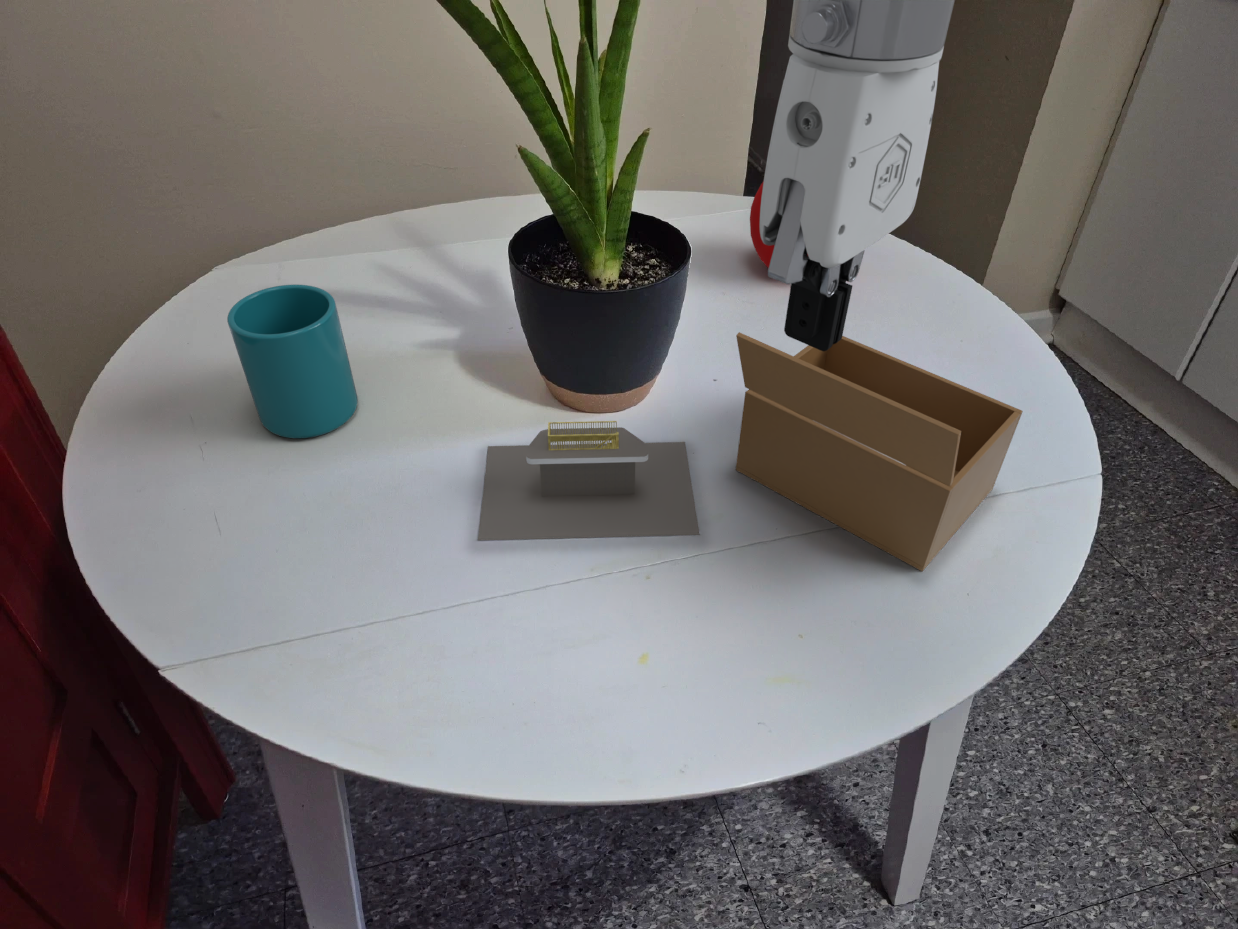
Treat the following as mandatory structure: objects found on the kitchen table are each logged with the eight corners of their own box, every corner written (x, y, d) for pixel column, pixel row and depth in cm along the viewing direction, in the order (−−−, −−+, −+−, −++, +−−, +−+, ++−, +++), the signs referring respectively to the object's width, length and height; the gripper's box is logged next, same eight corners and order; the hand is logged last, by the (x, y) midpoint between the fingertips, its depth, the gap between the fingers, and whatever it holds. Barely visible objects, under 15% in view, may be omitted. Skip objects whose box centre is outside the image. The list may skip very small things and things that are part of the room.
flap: (961, 430, 57) (958, 435, 57) (953, 482, 62) (950, 486, 62) (739, 331, 66) (735, 335, 66) (747, 383, 71) (744, 387, 71)
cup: (371, 366, 89) (349, 266, 81) (350, 440, 80) (323, 335, 72) (281, 369, 88) (251, 268, 81) (249, 443, 79) (213, 338, 72)
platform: (488, 446, 79) (481, 387, 75) (685, 441, 80) (689, 383, 75) (477, 540, 70) (469, 479, 66) (699, 534, 71) (705, 474, 66)
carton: (992, 489, 75) (1023, 410, 70) (922, 571, 68) (950, 491, 62) (814, 405, 84) (828, 329, 79) (735, 470, 77) (745, 391, 71)
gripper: (858, 68, 36) (796, 417, 48) (1007, 4, 45) (923, 313, 57) (715, 34, 40) (690, 365, 52) (877, -20, 49) (823, 275, 61)
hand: (812, 337), depth 54 cm, fingers closed
